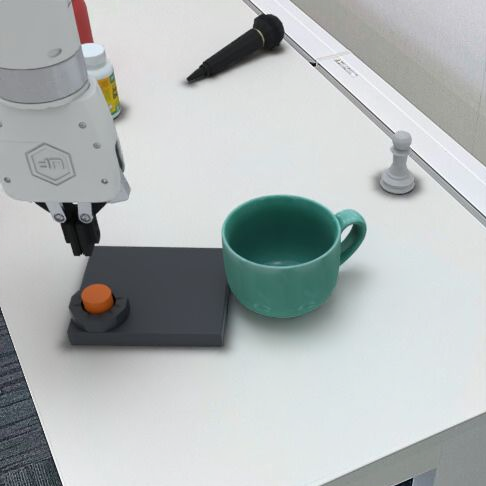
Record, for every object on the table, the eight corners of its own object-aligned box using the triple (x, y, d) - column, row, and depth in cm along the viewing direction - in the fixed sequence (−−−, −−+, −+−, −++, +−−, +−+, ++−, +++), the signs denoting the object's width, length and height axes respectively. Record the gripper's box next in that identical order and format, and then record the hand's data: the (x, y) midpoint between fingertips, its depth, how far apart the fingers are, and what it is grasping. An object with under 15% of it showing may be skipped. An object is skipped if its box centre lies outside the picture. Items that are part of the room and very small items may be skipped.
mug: (246, 345, 83) (242, 280, 76) (213, 272, 90) (206, 206, 83) (386, 308, 88) (394, 243, 81) (343, 241, 95) (347, 177, 88)
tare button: (81, 314, 80) (78, 303, 79) (87, 294, 82) (84, 283, 81) (110, 314, 80) (108, 303, 79) (115, 294, 82) (113, 283, 81)
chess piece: (420, 182, 104) (428, 130, 99) (403, 199, 102) (409, 146, 96) (391, 170, 106) (396, 118, 100) (373, 186, 103) (377, 133, 97)
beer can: (77, 85, 117) (59, 6, 108) (46, 72, 119) (25, -6, 110) (108, 68, 121) (93, -10, 112) (77, 56, 123) (60, -21, 114)
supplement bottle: (81, 105, 113) (66, 42, 106) (118, 100, 115) (106, 38, 107) (85, 125, 110) (71, 61, 103) (124, 119, 111) (112, 56, 104)
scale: (70, 344, 82) (63, 321, 79) (95, 257, 91) (89, 234, 88) (222, 346, 82) (220, 323, 80) (231, 260, 92) (230, 237, 89)
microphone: (199, 104, 121) (289, 47, 129) (200, 77, 116) (293, 20, 124) (175, 82, 122) (266, 28, 130) (175, 54, 116) (269, 0, 125)
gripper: (-74, 91, 59) (-3, 272, 72) (123, 95, 60) (157, 273, 73) (-44, 46, 64) (17, 222, 78) (138, 50, 65) (167, 224, 78)
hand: (85, 246), depth 75 cm, fingers closed
